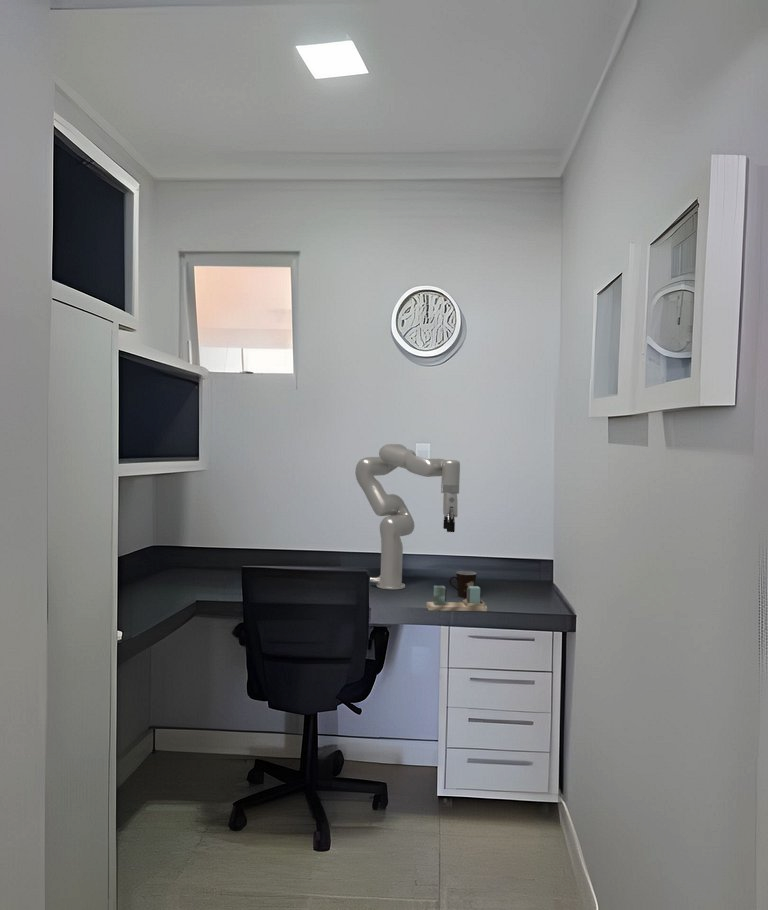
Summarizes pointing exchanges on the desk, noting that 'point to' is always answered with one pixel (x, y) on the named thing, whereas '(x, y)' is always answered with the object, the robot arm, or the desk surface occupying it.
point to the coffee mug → (464, 582)
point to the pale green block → (473, 595)
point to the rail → (441, 603)
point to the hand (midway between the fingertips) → (448, 530)
